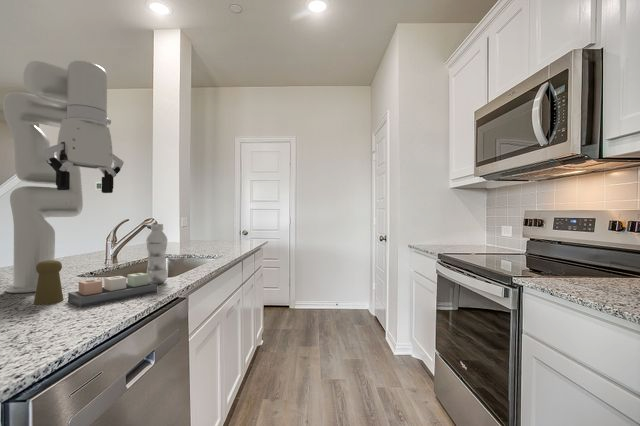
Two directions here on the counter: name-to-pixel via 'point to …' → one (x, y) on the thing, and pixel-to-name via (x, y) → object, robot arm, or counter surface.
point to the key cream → (115, 283)
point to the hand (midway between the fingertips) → (86, 191)
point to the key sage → (137, 279)
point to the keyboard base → (110, 295)
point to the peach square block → (90, 287)
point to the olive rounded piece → (48, 283)
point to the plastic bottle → (156, 255)
